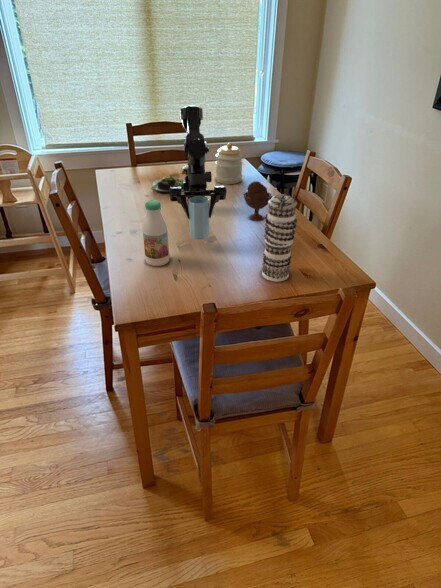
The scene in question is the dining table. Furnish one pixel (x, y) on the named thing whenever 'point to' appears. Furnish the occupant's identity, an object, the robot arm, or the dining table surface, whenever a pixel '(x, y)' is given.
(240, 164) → the jar
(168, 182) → the salad plate
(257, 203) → the ice cream bowl
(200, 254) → the dining table surface
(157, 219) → the milk bottle
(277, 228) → the decorative candle
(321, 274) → the dining table surface
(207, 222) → the tumbler
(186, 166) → the soupspoon
